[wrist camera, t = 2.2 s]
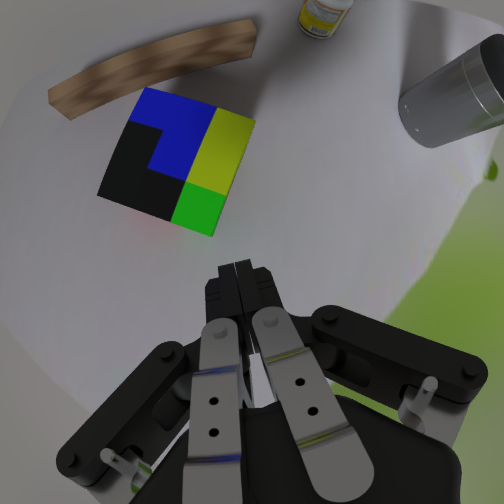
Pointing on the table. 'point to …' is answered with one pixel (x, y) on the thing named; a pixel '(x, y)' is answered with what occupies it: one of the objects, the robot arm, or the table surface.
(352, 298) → the table surface
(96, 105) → the board
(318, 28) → the supplement bottle
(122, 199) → the puzzle toy
